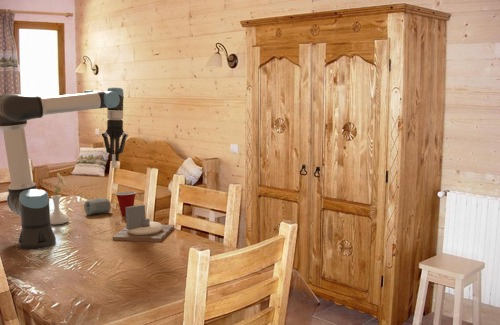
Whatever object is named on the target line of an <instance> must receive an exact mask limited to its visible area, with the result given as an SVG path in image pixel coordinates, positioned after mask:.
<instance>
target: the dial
mask: <svg viewBox="0 0 500 325" xmlns="http://www.w3.org/2000/svg"><path fill="white" fill-rule="evenodd" d="M125 220H126V221H125V222H126V224H125V225H126V226H125V227H126V229H127V233H129V234H133V235H149V234H154V233H158V232H160V231H161V230H162V225H163V224H162V223H161V222H157V221H151V220H150V217H149V218H147V217H146V204H142V203H140V204H136V205H135V204H134V206H130V207H126V216H125Z"/></svg>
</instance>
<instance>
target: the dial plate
mask: <svg viewBox="0 0 500 325" xmlns="http://www.w3.org/2000/svg"><path fill="white" fill-rule="evenodd" d="M174 229H175V224H162V230H161V231H160V232H158V233H154V234H149V235H133V234H129V233H127V229H126V226H125V227H124V228H122V229H121V230H120V231H118V232H117V233H115V234H114V235H113V236H112V241H124V240H126V241H129V242H131V241H132V242H156V243H157V242H158V243H159V242H160V243H161V242H162V241H163V240H164V239H165V238H166V237H167V236H168V235H169V234H170V233H172V231H173V230H174Z"/></svg>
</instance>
